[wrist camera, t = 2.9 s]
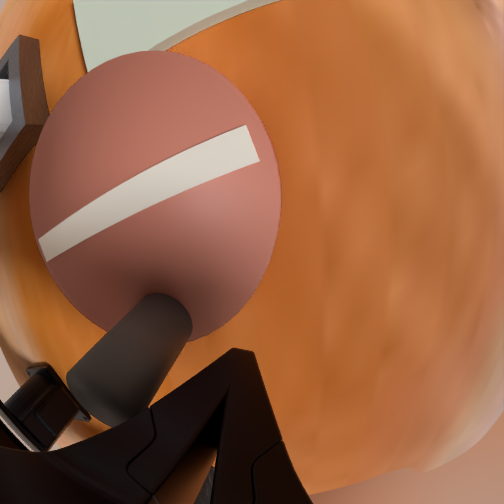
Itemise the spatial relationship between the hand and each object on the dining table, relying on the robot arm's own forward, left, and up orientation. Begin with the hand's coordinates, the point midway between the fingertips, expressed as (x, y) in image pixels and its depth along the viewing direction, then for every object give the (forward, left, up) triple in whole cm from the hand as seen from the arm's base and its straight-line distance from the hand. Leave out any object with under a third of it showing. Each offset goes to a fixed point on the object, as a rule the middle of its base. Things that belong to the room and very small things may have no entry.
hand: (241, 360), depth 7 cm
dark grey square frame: (-11, +17, -4) cm, 20 cm away
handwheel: (-2, +6, -2) cm, 6 cm away
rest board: (+2, +16, -4) cm, 17 cm away
